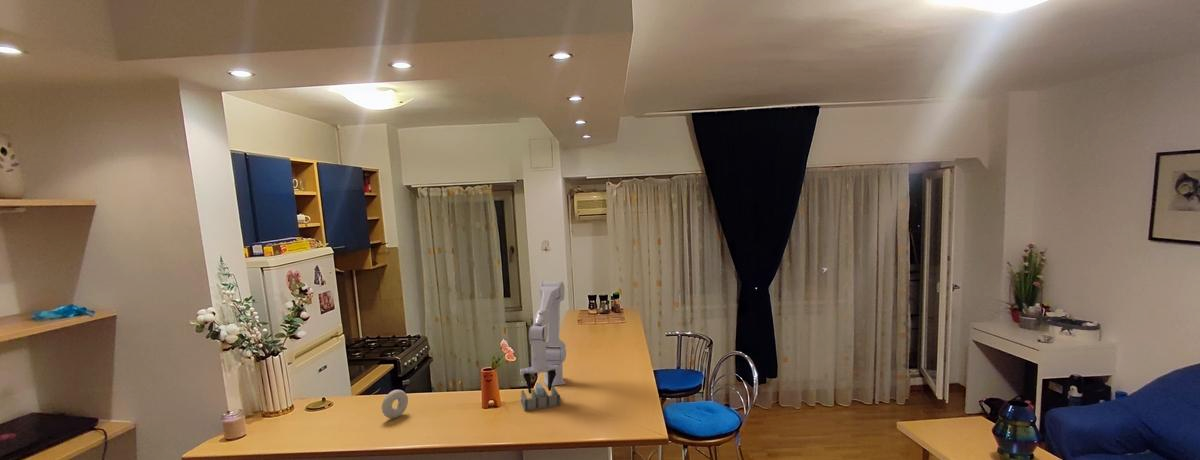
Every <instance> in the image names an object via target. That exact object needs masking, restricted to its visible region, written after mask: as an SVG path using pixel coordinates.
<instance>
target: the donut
mask: <svg viewBox="0 0 1200 460" xmlns="http://www.w3.org/2000/svg"><path fill="white" fill-rule="evenodd" d="M396 400H397V401H398V403H397V405H396V406H395V408H393V403H394V402H395V401H396ZM408 404H409V399H408V394H407V393H406V392H405V391H404V390H402V389H393V390H391V391H390V392H389V393H388V394H386V396H385V397H384V399H383V401H382V403H381V412H382V414H383V416H384V417H385V418H388V419H397V418H398V417H400V416H402V415H403V414H404V413H405V411H406V410H407V407H408Z"/></svg>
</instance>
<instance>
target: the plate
mask: <svg viewBox="0 0 1200 460" xmlns="http://www.w3.org/2000/svg"><path fill="white" fill-rule="evenodd" d="M543 388H544V387H543V386H542V384H541V382H537V383H535V392H536V394H537V396H538V397H544V389H545V388H544V389H543Z"/></svg>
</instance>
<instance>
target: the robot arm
mask: <svg viewBox="0 0 1200 460" xmlns="http://www.w3.org/2000/svg"><path fill="white" fill-rule="evenodd" d="M539 295H540V297H541V302H540V307H539V309H538V310H537V311H536V313H535V316H534V319H533V323H532V326H529V329H528V340H529V345H530V347H531V348H530V351H531V353H530V354H531V366H529V367H525V368H520V369H519V374H520V376H523V378H524V380H525V383H526V386H527V390H528V392H527V393H528V394H530V395H531V389H532V386H531V385H532V383H531V382H532V377H531V375H533V374H541V373H544V378H542V380H543V382H544V383H545V386H546V387H547V390H548V391H549V392H550V391H551V387H552V386H554V387H555V386H562V385H566V381H565V380H564V375H563V373H564V372H563V363H564V362H565V361H566V357H567V349H566V343H565V342H563V340H561V338H560V314H561V313H560V312H561V311H560V310H561V309H560V307H561V302H562V301H564V300H565V283H564V282H563V281H541V282H540V284H539Z"/></svg>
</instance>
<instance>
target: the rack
mask: <svg viewBox="0 0 1200 460" xmlns="http://www.w3.org/2000/svg"><path fill="white" fill-rule="evenodd" d="M543 389H544V397H538V396H537V394H536V389H534V388H531V393H530V396H531V397H527V394H526V392H525V390H521V391H520V394H521V395H520V397H521V399H520V403H521V405H522V408H523V411H524V412H527V411H529V412H530V411H534V410H543V409H549V408H556V407H561V394H559V392H558V390H557V389H556V388H555V386H551V394H550V395H548V392H547V391H546V389H545V387H543Z"/></svg>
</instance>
